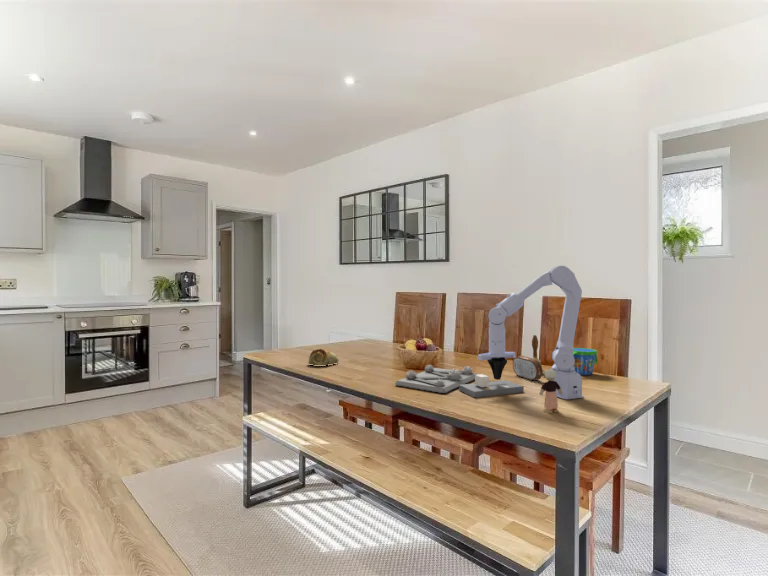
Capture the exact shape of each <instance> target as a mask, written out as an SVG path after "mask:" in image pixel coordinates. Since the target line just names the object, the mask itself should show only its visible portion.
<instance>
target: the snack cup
mask: <svg viewBox="0 0 768 576" xmlns="http://www.w3.org/2000/svg"><path fill="white" fill-rule="evenodd" d="M573 356H574V359H575V363H574V366H573V367H574V370H575V372H576V373H579V374H580V375H581V376H589V375H590V376H591V375H593V373H594V367H595V365H598V363H599V362H598V361H599V360H598V359H599V358H598V351H597V349H594V348H593V349H592V348H588V347H587V348H583V347H574V350H573Z"/></svg>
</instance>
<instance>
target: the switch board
mask: <svg viewBox="0 0 768 576" xmlns="http://www.w3.org/2000/svg"><path fill="white" fill-rule="evenodd" d="M458 390H460V391H459V392H461V391H462V393H463V392H464V394H466V395H468V396H469V397H472V398H474V397H476V398H482V397H483V396H484V397H491V396H492V395H493V396H500V395H509V394H518V393H525V392H524V390H525V389H524V386H523V385H522V384H518V383H515V382H512V381H510V380H507V379H503V380H495V381H494V380H493V381H489V387H479V386H477V385H475V382H474V383H467V384H463V385H459V387H458Z"/></svg>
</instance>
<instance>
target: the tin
mask: <svg viewBox="0 0 768 576" xmlns="http://www.w3.org/2000/svg"><path fill="white" fill-rule="evenodd" d="M541 366H542V363H541V364H540V363H539V362H538V361H537V360H536V359H533V357H528V356H525V355H519V356H516V358H513V360H512V370H513V372H514V373H515V375H516V376H518V377H520V378H523V379H526V380H528V381H529V380H530V381H539V380H540V379H541V378H542V376H543V375H542V372H543V371H542V369H543V367H541Z"/></svg>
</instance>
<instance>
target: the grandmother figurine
mask: <svg viewBox="0 0 768 576" xmlns="http://www.w3.org/2000/svg"><path fill="white" fill-rule="evenodd" d="M544 371H545V374H544V377H545V379H546V382H543V384H542V385H541V387H540V391H539V395H540V396H543V395H544V392H545V397H544V409H543V412H545V413H549V414H553V412H554V413H559V410H558V408H559V406H558V404H559V403H558V397H557V395H556V389H557V390H558V391H559V394H562V391H561V388H560V386H559V384H558V383H557V382H556V381H553V380H554V379H555V377H556V373H555V371H554V370H553V369H552V368H548V369H546V370H544Z"/></svg>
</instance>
